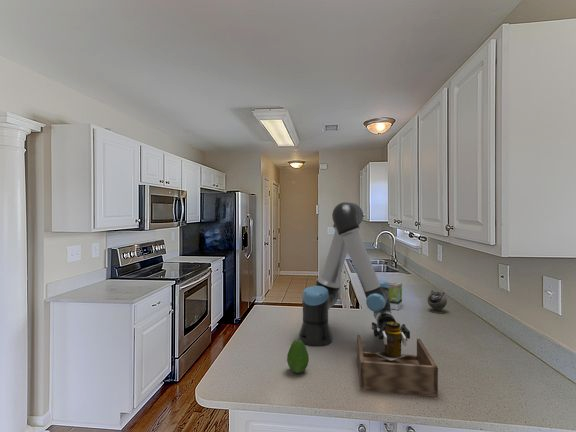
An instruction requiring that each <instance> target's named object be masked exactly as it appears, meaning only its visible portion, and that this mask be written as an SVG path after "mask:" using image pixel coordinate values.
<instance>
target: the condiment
mask: <svg viewBox="0 0 576 432" xmlns="http://www.w3.org/2000/svg"><path fill="white" fill-rule="evenodd" d="M400 326H401V324H400V323H399V322H398V321H396V322H393V321H389V322H386V329H385V334H386V336H387V345H385V344H384V350H382V351H379V352H375V353H376V354H378V355H380V356H382V357H384V358H386V359H388V360H391V361H392V360H395V359H398V358H401V357H404V356H406V355H407V354H405V355H404V354H403V353H402V341H401V331H400Z"/></svg>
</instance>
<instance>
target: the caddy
mask: <svg viewBox="0 0 576 432" xmlns="http://www.w3.org/2000/svg"><path fill="white" fill-rule="evenodd" d="M356 342H357V344H356V349H357V350H356V356H357V357H356V359H357V368H358V369H357V370H358V376H359V377H358V378H359V385H360V386H359V387H360V391H369V392H383V393H393V394H394V393H395V394H404V395H405V394H406V395H417V396H430V397H438V393H439V392H438V390H439V385H438V383H439V372H438V371H439V367H438V366H437V364H436V363H435V361H434V359H433V358H432V356H431V354H430V353H429V351H428V350H427V347H426V346H425V344H424V343H423V341H422V339H421V338H416V354H404V355H406V356H404V357H401V358H398V359H395V360H392V361H391V360H388V359H386V358H384V357H382V356H380V355H378V354H376V353H377V352H374V351H372V352H370V351H363V345H362V343H363V342H362V337H361V335H360V334H357V335H356Z"/></svg>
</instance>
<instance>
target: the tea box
mask: <svg viewBox="0 0 576 432" xmlns="http://www.w3.org/2000/svg"><path fill="white" fill-rule="evenodd" d="M387 282H388V286H389V296H390V307H391V310H396V311H398V310H399V311H400V309H401V308H402V307H403V283H402V282H395V281H387Z"/></svg>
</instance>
